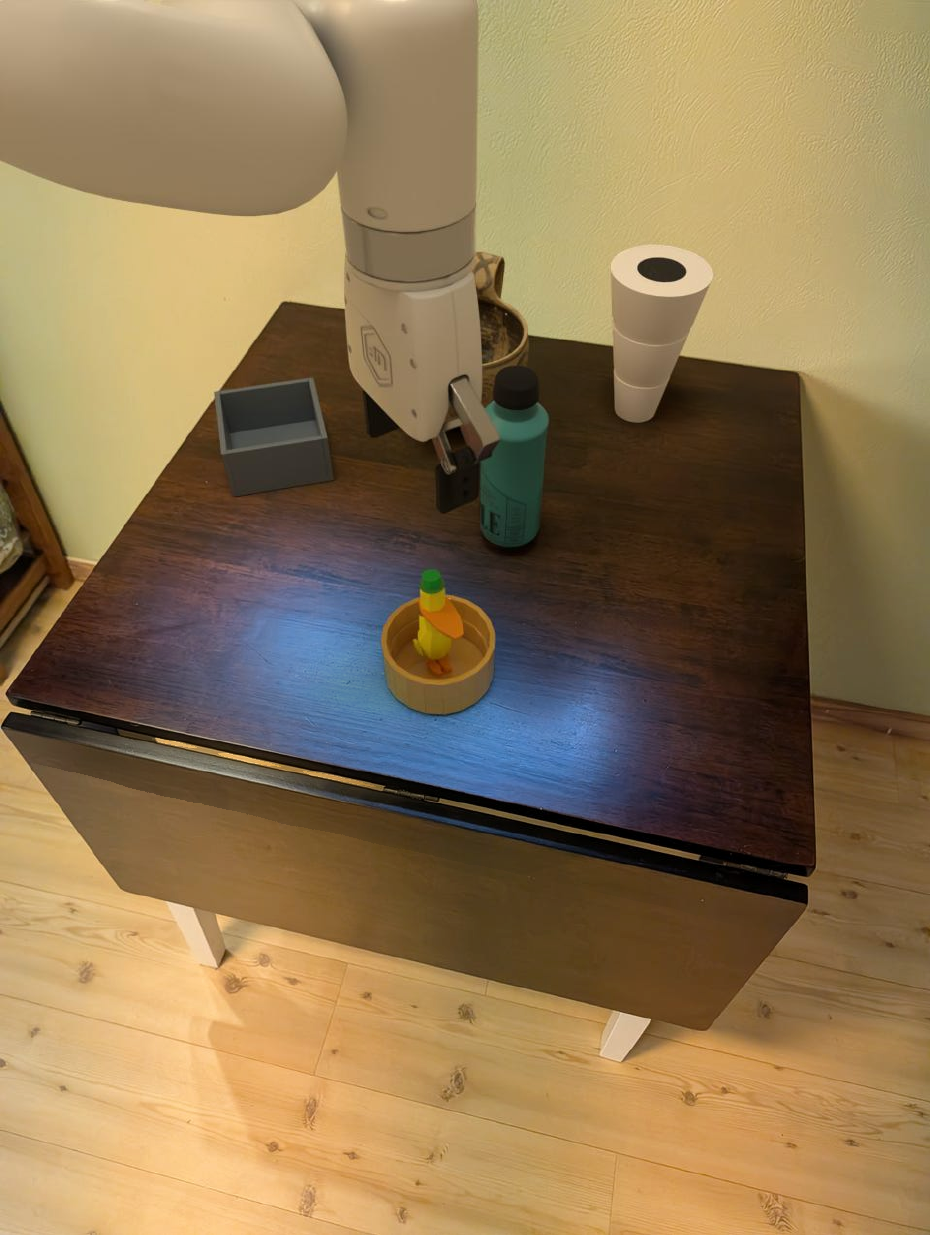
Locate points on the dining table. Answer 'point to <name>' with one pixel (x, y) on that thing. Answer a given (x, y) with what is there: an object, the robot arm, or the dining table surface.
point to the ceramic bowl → (496, 326)
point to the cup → (652, 321)
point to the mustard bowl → (411, 669)
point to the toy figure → (436, 623)
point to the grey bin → (273, 436)
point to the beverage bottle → (514, 460)
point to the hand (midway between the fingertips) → (421, 465)
